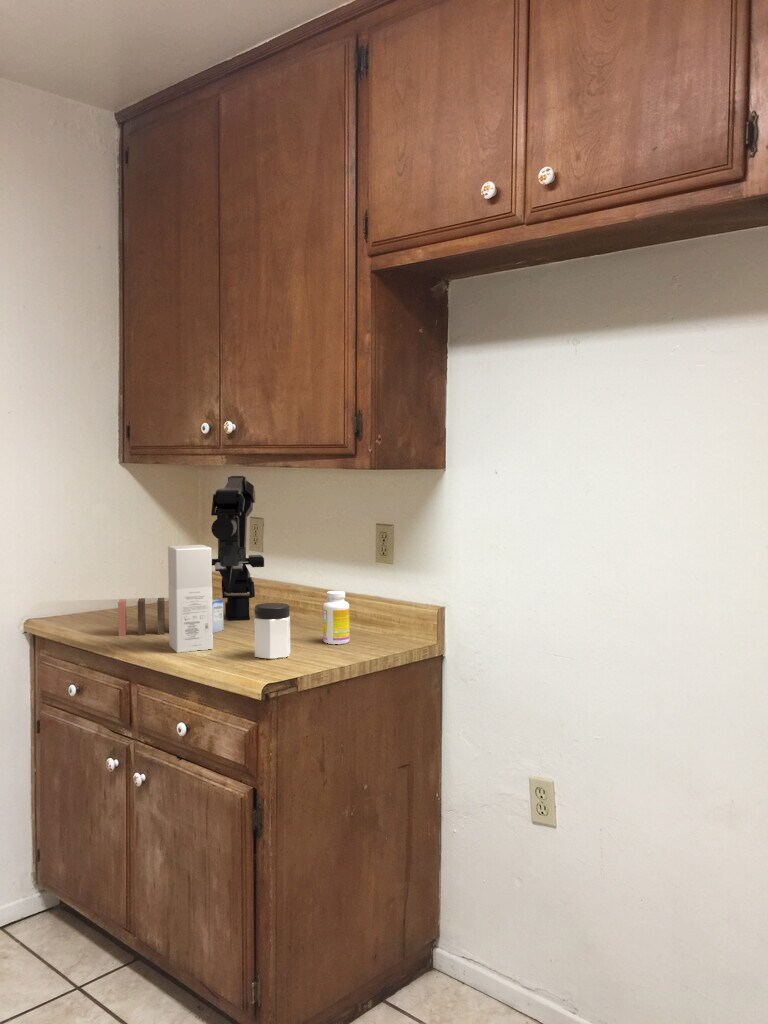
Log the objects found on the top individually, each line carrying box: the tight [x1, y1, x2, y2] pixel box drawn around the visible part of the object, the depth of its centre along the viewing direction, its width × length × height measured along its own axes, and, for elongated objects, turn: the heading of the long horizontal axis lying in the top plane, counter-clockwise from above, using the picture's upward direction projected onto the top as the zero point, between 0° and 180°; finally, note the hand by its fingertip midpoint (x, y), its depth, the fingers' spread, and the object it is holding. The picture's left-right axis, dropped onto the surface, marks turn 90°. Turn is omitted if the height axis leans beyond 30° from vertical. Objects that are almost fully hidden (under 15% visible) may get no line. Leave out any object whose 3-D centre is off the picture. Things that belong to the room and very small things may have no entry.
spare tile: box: [117, 598, 128, 637], centre depth 233 cm, size 2×5×9 cm, turn 12°
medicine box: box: [212, 598, 224, 634], centre depth 237 cm, size 8×4×9 cm, turn 62°
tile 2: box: [156, 597, 166, 636], centre depth 235 cm, size 2×5×9 cm, turn 12°
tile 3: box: [137, 598, 147, 636], centre depth 234 cm, size 2×5×9 cm, turn 12°
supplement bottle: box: [322, 590, 351, 645], centre depth 222 cm, size 7×7×13 cm
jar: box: [253, 602, 291, 658], centre depth 207 cm, size 9×8×12 cm
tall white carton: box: [167, 544, 214, 654], centre depth 215 cm, size 9×9×25 cm
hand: (229, 593), depth 238 cm, fingers closed
